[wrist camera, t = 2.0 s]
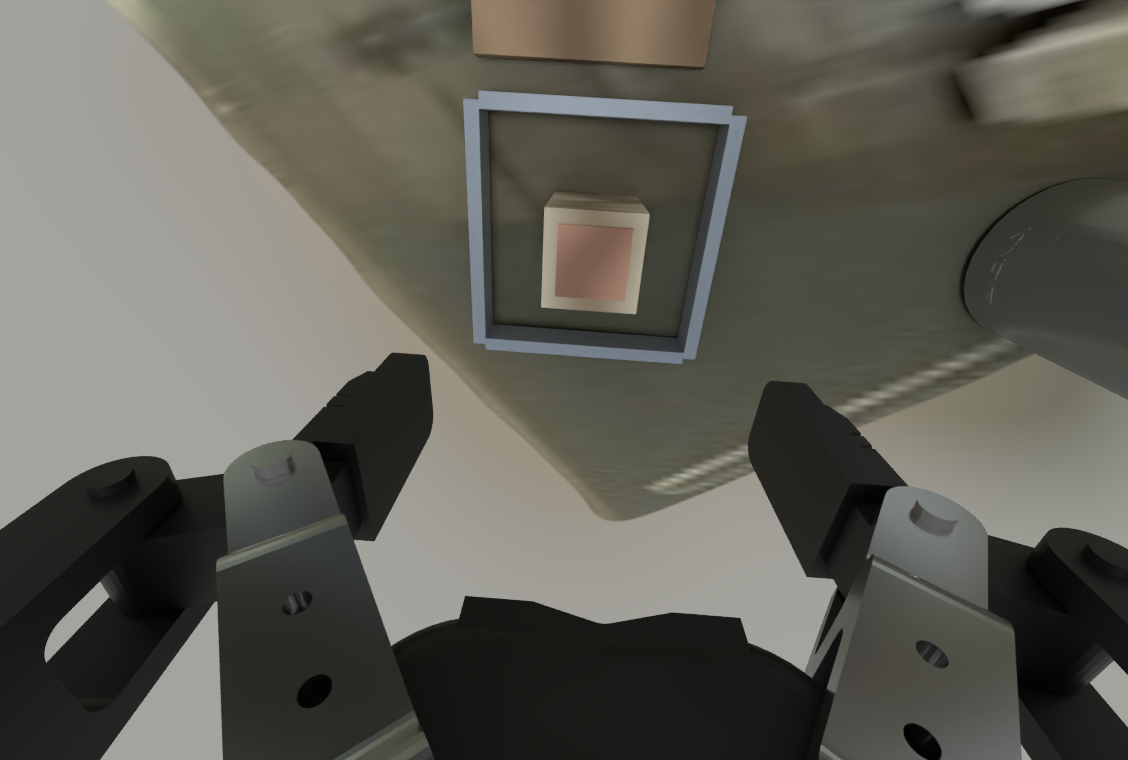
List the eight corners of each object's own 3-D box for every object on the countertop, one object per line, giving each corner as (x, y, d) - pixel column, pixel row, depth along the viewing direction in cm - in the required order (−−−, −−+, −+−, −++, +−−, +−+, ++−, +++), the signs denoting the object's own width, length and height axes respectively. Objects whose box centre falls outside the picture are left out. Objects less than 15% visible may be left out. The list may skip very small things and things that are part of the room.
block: (637, 196, 28) (649, 214, 21) (627, 277, 30) (636, 315, 24) (555, 190, 28) (544, 207, 22) (551, 271, 30) (540, 308, 24)
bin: (735, 109, 25) (749, 107, 23) (687, 349, 32) (693, 364, 30) (474, 93, 26) (462, 89, 23) (482, 334, 33) (473, 348, 30)
